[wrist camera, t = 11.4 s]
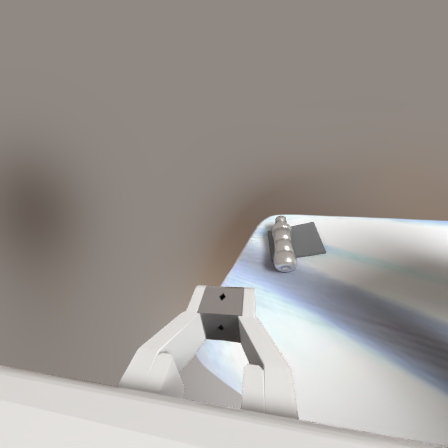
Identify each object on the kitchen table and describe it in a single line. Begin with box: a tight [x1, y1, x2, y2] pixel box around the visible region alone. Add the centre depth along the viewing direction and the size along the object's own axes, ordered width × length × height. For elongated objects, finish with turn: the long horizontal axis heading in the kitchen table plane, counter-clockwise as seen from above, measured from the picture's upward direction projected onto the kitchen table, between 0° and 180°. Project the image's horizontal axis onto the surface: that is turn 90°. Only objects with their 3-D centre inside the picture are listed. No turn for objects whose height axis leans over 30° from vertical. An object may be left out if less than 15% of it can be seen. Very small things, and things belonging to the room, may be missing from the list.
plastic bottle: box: [272, 216, 297, 272], centre depth 57 cm, size 6×7×20 cm
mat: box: [268, 222, 326, 262], centre depth 60 cm, size 16×13×1 cm
